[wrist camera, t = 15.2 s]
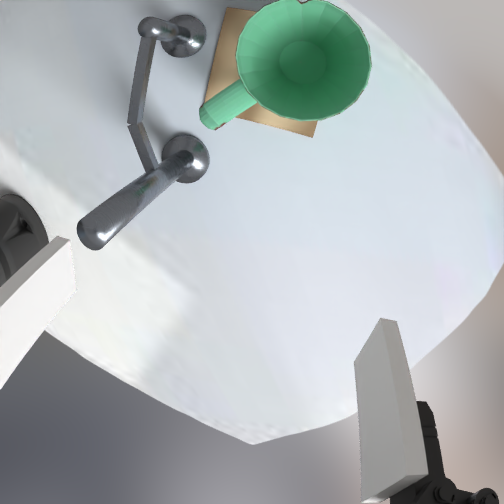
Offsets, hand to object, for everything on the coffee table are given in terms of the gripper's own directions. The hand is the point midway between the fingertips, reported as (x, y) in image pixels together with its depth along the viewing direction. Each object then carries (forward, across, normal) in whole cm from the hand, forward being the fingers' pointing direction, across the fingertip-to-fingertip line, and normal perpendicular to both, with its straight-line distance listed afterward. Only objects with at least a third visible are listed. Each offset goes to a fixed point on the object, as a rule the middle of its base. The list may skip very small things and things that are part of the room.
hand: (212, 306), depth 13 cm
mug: (+25, -1, +9) cm, 26 cm away
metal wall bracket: (+25, -11, +5) cm, 28 cm away
